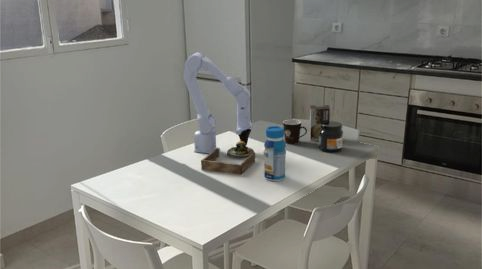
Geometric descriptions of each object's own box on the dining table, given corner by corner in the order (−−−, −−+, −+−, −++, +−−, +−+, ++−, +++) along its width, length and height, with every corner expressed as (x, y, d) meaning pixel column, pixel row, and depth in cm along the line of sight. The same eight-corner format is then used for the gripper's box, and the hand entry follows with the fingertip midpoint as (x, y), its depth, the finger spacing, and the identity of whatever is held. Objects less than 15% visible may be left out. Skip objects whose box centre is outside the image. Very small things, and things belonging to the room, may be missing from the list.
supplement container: (344, 153, 203) (345, 127, 199) (320, 153, 203) (321, 127, 199) (339, 145, 213) (341, 120, 209) (317, 145, 213) (317, 120, 209)
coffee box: (328, 136, 225) (329, 104, 220) (329, 141, 219) (330, 108, 214) (309, 136, 226) (310, 104, 221) (309, 140, 220) (310, 108, 215)
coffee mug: (279, 141, 220) (279, 121, 217) (294, 138, 224) (295, 118, 221) (292, 148, 210) (292, 127, 207) (308, 145, 214) (308, 124, 211)
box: (201, 169, 188) (201, 160, 187) (217, 156, 202) (217, 148, 200) (241, 174, 181) (241, 165, 180) (255, 161, 195) (255, 152, 194)
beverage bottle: (284, 182, 174) (284, 132, 168) (262, 181, 175) (262, 131, 169) (286, 173, 182) (287, 125, 175) (265, 172, 183) (265, 124, 177)
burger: (222, 157, 201) (221, 140, 199) (235, 148, 211) (234, 133, 209) (246, 161, 196) (246, 144, 193) (258, 152, 206) (258, 136, 203)
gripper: (246, 121, 194) (246, 151, 199) (257, 112, 207) (257, 141, 211) (230, 119, 197) (231, 149, 201) (243, 111, 210) (243, 139, 214)
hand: (244, 145), depth 206 cm, fingers closed
